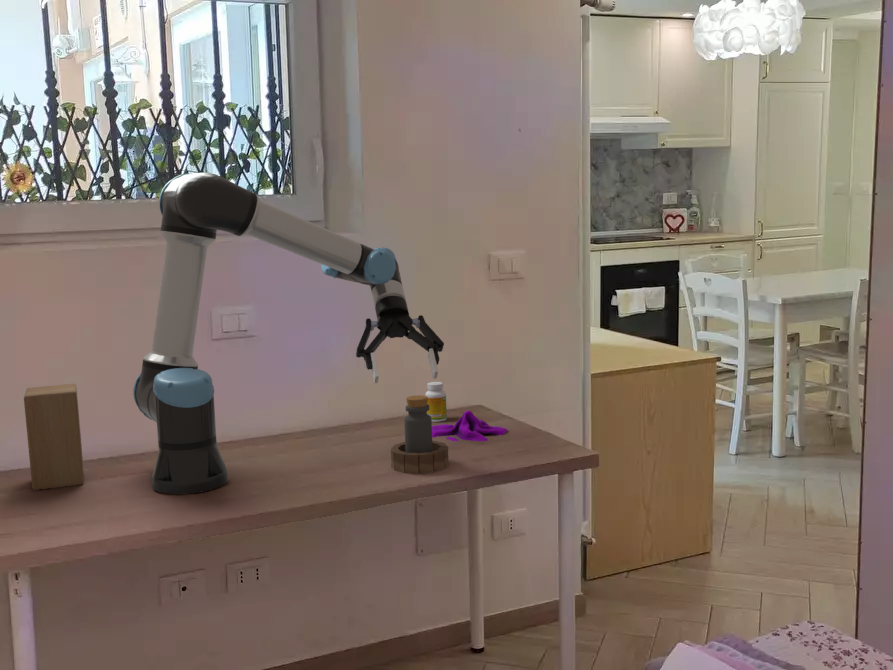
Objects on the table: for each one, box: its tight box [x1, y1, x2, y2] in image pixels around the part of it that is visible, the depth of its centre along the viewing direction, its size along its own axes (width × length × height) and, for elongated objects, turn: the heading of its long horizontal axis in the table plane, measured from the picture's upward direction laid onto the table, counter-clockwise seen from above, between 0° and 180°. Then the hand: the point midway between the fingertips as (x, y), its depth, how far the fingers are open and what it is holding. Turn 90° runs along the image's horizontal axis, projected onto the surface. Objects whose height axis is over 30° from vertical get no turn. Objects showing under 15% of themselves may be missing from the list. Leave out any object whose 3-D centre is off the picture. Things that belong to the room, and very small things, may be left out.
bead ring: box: [390, 440, 449, 475], centre depth 208 cm, size 12×12×4 cm
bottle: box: [404, 394, 433, 453], centre depth 208 cm, size 6×6×15 cm
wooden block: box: [23, 383, 85, 491], centre depth 203 cm, size 10×10×20 cm
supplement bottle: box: [424, 381, 448, 423], centre depth 250 cm, size 5×5×10 cm
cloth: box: [432, 409, 509, 442], centre depth 235 cm, size 22×19×6 cm
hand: (406, 377), depth 216 cm, fingers open, 13 cm apart
